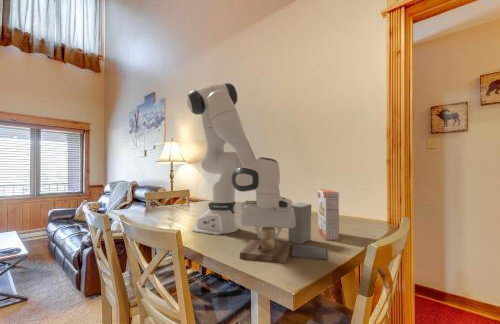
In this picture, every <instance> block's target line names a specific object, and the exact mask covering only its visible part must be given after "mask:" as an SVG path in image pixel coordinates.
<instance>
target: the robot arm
mask: <svg viewBox="0 0 500 324" xmlns="http://www.w3.org/2000/svg"><path fill="white" fill-rule="evenodd" d="M186 95H187V96H186V103H187V107H188V109H189V110H190V112H191V113H192V114H194V115H200V116H201V122H202V128H203V131H204V134H205V135H204V136H205V140H206V151H205V154H204V155H203V156H202V158H201V161H200V162H201V168H202V170H203V171H204V172H207V173H209V174H214V175H216V174H217V175H220V177H219V179H218V181H217V182H216V183H214V184H213V186H212V200H211V202H209V203H208V204H207V207H208V209H206V211H205V212H204V213H202V214H200V216H199V217H198V219H197V222H196V225H195V226H193V227H192V229H191V231H192V232H195V233H202V234H209V235H210V234H211V235H214V236H215V235H218V236H220V235H223V234H231V233H235V232H237V231H238V230H239V229H238V225H237V220H236V207H237V204H236V201H235V198H236V197H235V196H236V194H235V193H236V190H237V191H238V192H243V193H246V192H251V191H255V194H256V195H255V197H256V198H255V200H244V201H243V202H241V204H240V211H241V216H240V217H241V218H240V224H241V225H242V226H245V227H254V230H255V232H256V234H257V239H259V240H261V230H260V229H261V228H262V227H275V228H276V230H277V232H276V233H275V234H274V239H275V241H278V240H279V234H280V233H281V231H282V229H289V228H294V227H295V226H296V218H295V211H294V209H293V208H292V207H291V206H292V204H293V201H292V199H289V198H287V197H283V196H281V191H280V183H281V173H280V172H281V170H280V166H279V165H280V164H279V162H278V161H277V160H276V159H274V158H269V157H261V156H260V157H258V158H257V159H256V157H255V154H254V152H253V150H252V147H251V146H250V142H249V140H248V138H247V135H246V133H245V130H244V127H243V125H242V121H241V119H240V115H239V112H238V110H237V108H236V104H237V102H238V92H237V89H236V87H235V86H234V85H233V84H232V83H229V82H228V83H227V82H225V83H221V84H212V85H209V86H204V87H201V88H197V89H193V90H191V91H189V92H188V93H187V94H186ZM226 144H229V145H230V146H231V147H232V148H233V150H235V151H225V150H224V149H225V147H224V146H225V145H226Z"/></svg>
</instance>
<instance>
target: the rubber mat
mask: <svg viewBox="0 0 500 324" xmlns="http://www.w3.org/2000/svg"><path fill="white" fill-rule="evenodd" d="M291 250H292V251H291V258H298V259H299V258H300V259H308V260H309V259H310V260H319V261H320V260H321V261H328V256H327V255H328V254H327V251H326V250H327V247H326V246H313V245H302V244H293V248H292V249H291Z"/></svg>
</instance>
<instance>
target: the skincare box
mask: <svg viewBox="0 0 500 324" xmlns="http://www.w3.org/2000/svg"><path fill="white" fill-rule="evenodd" d="M291 207H292V208H293V209H294V211H295V218H296V226H295V227H294V228H288V237H287V238H288V242H290V243H291V242H292V243H294V244H297V245H302V244H304V243H306V242H308V241H310V240H312V239H311V237H312V204H311V203H306V202H305V203H304V202H295V203H292V206H291Z"/></svg>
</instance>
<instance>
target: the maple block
mask: <svg viewBox="0 0 500 324" xmlns="http://www.w3.org/2000/svg"><path fill="white" fill-rule="evenodd" d="M260 233H261V239H260V240H261V250H272V251H274V248H275V241H276V240H275V239H274V234H276V227H261V228H260Z"/></svg>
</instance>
